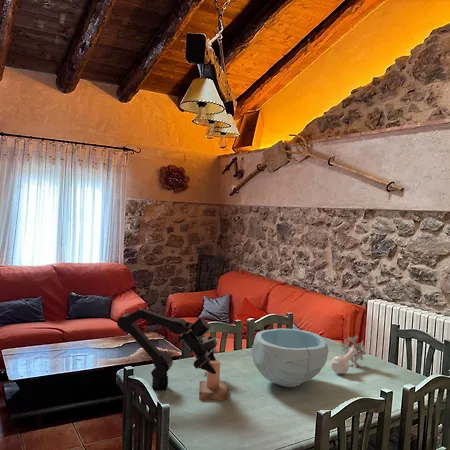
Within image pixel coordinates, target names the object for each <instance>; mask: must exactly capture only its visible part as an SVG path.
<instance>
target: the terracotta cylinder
mask: <svg viewBox="0 0 450 450" xmlns="http://www.w3.org/2000/svg"><path fill="white" fill-rule="evenodd" d="M210 363H211V365H212V367H213V368H214V370H215V371H216V373H215V374H213V373H210V372H208V371H207V377H206V381H207V388H208V389H218V388H219V382H220V378H221V377H220V375H221V361H219V360H217V359H216V360H210Z"/></svg>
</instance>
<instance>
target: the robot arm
mask: <svg viewBox="0 0 450 450" xmlns="http://www.w3.org/2000/svg"><path fill="white" fill-rule="evenodd" d="M140 319H142V320H145V321H146V322H147V321H148V322H150V323H152V324H156V325H158V326H161V327H164V328H165V329H166V330H168V332H171V334H172V333H173V334H174V335H177V343H180V342H181V341H183V343H184V344H185V345H186V346H187V348H188V349H189V351H188V352H190V353H193V355H194V356H195V360H194V362H193V367H194V368H195V369H196V370H197V369H201V370H204V371H205V370H206V371H208V372H210V373H213V374H215V373H216V371H215V370H214V368H213V367H212V365H211V363H210V360H217V359H216V357H215V352H214V350H213V351H211V350H212V349H214V347H217V345H218V341H217V340H216V338H217V337H215V336H213V335H209V336H207V337H208V340H206V341H203V339H200V338H201V337H203V336H204V335H205V334H206V333H207V332H208V331H209V330H211V326H210V323H208V321H206V320H205V319H204V318H202V317H201V316H199V317H198V319H196V321H194V322H193V323H192V322H189V321H186V320H185V319H184V318H178V317H169V316H166V315H163V314H161V313H158V312H155V311H151V310H149V309H146V308H144V307H141V308H139V309H138V310H136V311H133V312H132V313H125V314H123V315H121V316H119V318H118V319H117V321H116V322H117V323H116V324H117V327H118V328H119V329H120V330H121V331H123V333H126V334H128V335H130V336H131V337H132V338H133V339H134V340H135V342H137V344H138V345H139V346H140V347H141V348H142V350H144V351H145V352H146V354H147V355H148V356H149V357H150V358H151V361H152V363H153V366H154V368H152V369H153V370H152V371H150V373H151V377H152V381H151V382H152V385H151V389H152V388H153V390H152V391H166V390H167V388H168V386H169V376H168V372H169V370H170V369H171V368H172V366H173V363H174V361H173V358H172V356H171V355H170V354H169V353H168V351H166V350H164V351H161V350H160V349H158V347H157V346H156V345H155V344H154V343H153V341H152V340H150V339H149V337H148V336H147V335H146V334H145V333H144V332H143V331H142V330H141V328H140V327H139V324H138V320H140ZM198 337H200V338H198Z"/></svg>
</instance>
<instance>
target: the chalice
mask: <svg viewBox="0 0 450 450" xmlns="http://www.w3.org/2000/svg"><path fill="white" fill-rule="evenodd" d="M208 337H209V336H204V337H203V336H202V338H201V340H203V341H206V340H208ZM215 338H216V341H217V340H218V338H217V337H215ZM216 347H217V346H216ZM216 347H214V349H212V350H211V351H213V350H214V353H215V352H216ZM202 376H203V377H205V378H207V371H206V370H204V372H203V374H202Z"/></svg>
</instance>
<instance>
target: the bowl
mask: <svg viewBox="0 0 450 450" xmlns="http://www.w3.org/2000/svg"><path fill="white" fill-rule="evenodd" d="M326 341H327V340H326V339H325V338H323V336H321V335H319V334H318V333H315V332H311V331H308V330H302V329H296V328H285V327H284V328H274V329H263V330H261V331H258V332H257V333H256V334H255V337H254V340H253V344H252V345H251V347H252V348H251V356H252V361H253V363H254V365H255V367H256V369H257V370H258V372H259V373H260V375H262V376H263V377H264V378H265V379H266V380H268V381H269V382H271V383H273V384H276V385H279V386H281V387H286V388H296V387H297V386H300V385H301V384H302V383H305V382H308V381H311V380H312V379H313V378H315V377H316V376H317V375H319V374H320V372H321V370H322V369H323V367H325V366H326V363H327V360H328V356H329V355H328V354H329V346H328V344H327V342H326Z"/></svg>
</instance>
